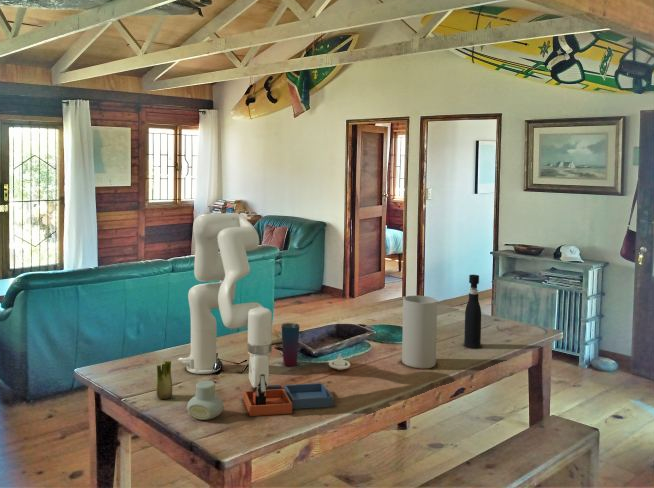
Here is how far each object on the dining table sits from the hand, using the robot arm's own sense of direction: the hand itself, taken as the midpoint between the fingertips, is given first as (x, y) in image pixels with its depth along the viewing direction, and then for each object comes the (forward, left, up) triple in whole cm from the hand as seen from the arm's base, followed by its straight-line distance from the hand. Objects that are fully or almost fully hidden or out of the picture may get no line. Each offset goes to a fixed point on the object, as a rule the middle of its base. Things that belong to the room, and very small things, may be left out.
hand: (259, 404), depth 190 cm
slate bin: (+17, +3, -1) cm, 17 cm away
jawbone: (+17, +67, -1) cm, 69 cm away
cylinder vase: (+68, +30, -1) cm, 74 cm away
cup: (+19, +37, -1) cm, 42 cm away
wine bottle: (+100, +47, -1) cm, 110 cm away
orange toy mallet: (+3, 0, 0) cm, 3 cm away
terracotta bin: (+3, 0, -1) cm, 3 cm away
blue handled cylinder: (+5, +14, -1) cm, 15 cm away
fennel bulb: (-29, +12, -1) cm, 32 cm away
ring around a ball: (+36, +29, -1) cm, 46 cm away
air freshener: (-17, -4, -1) cm, 18 cm away
